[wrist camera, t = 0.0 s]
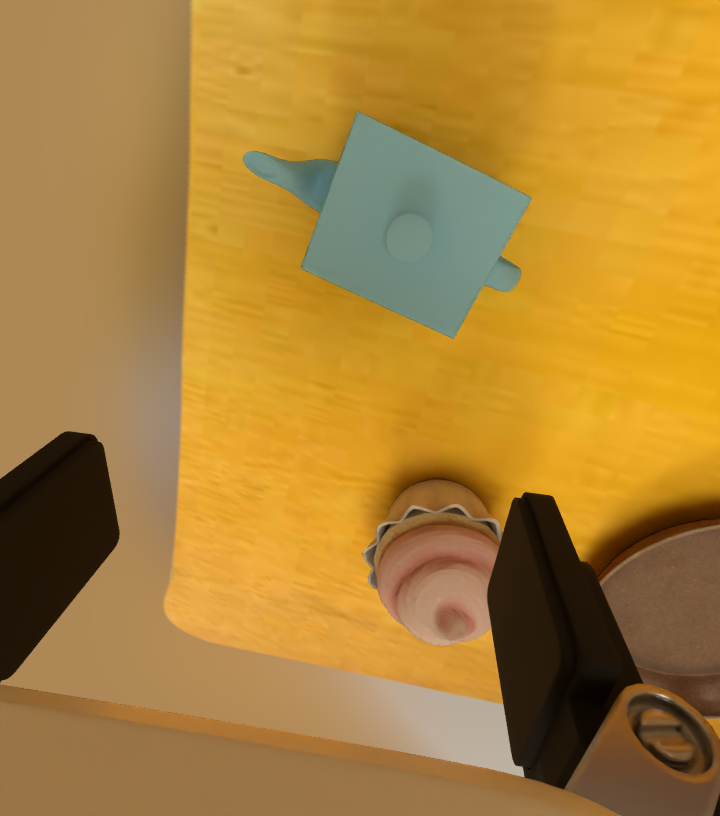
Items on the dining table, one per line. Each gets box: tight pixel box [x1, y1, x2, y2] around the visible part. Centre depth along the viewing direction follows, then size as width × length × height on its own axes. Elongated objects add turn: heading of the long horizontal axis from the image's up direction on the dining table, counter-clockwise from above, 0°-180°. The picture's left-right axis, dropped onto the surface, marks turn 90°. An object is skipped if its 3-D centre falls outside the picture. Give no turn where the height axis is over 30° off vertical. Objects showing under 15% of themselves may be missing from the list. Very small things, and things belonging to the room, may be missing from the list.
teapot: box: [243, 111, 532, 339], centre depth 21 cm, size 12×6×8 cm, turn 67°
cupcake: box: [362, 479, 503, 646], centre depth 28 cm, size 9×9×10 cm
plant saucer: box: [597, 519, 720, 719], centre depth 32 cm, size 18×18×3 cm
